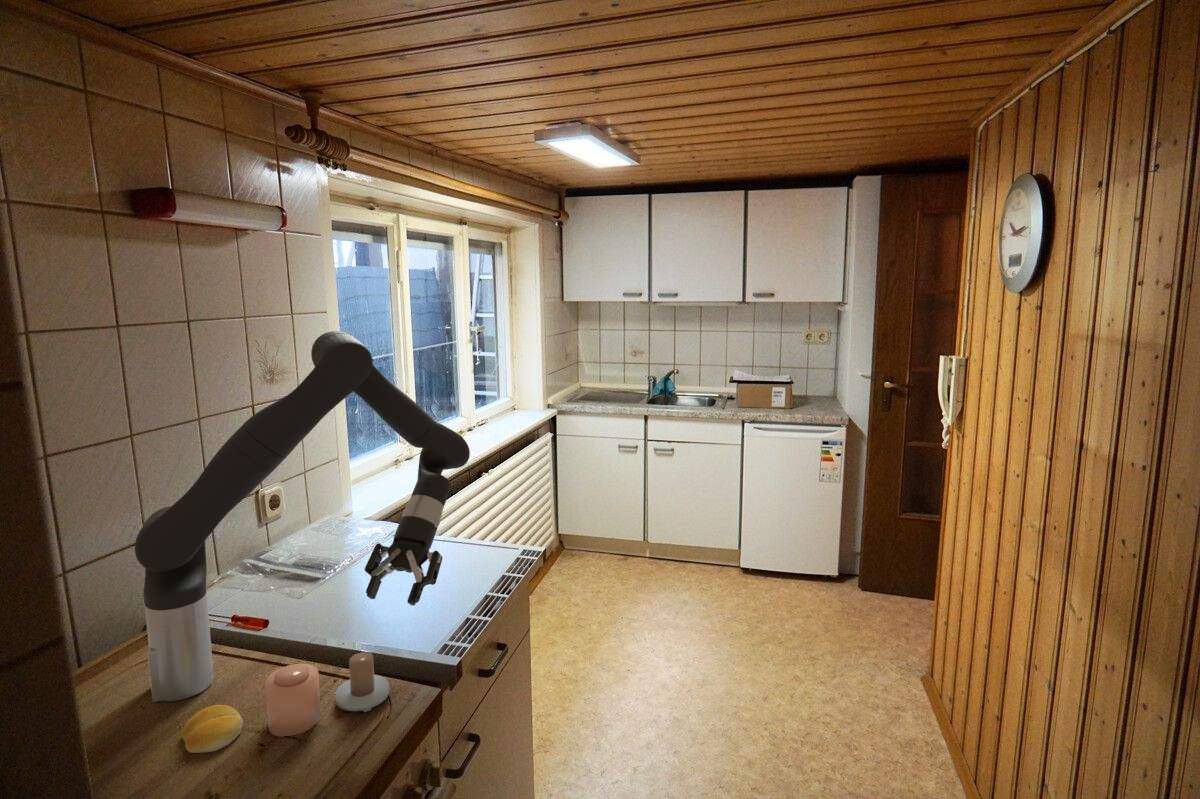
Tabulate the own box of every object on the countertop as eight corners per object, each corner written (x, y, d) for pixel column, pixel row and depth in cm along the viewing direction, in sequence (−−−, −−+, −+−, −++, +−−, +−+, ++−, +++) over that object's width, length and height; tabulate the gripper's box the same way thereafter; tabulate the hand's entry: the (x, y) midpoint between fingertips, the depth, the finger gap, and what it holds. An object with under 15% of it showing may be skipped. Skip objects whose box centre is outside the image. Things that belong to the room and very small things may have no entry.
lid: (340, 722, 107) (338, 679, 106) (331, 693, 115) (329, 653, 113) (395, 705, 112) (393, 664, 110) (382, 679, 119) (381, 639, 118)
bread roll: (189, 763, 97) (187, 740, 97) (180, 732, 104) (178, 710, 103) (249, 740, 103) (247, 718, 102) (237, 712, 109) (235, 691, 109)
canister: (270, 743, 102) (267, 693, 100) (266, 714, 109) (262, 667, 107) (324, 726, 106) (321, 678, 105) (316, 700, 113) (314, 654, 111)
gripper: (380, 510, 128) (348, 589, 119) (445, 518, 124) (417, 599, 115) (395, 526, 134) (365, 602, 125) (458, 534, 130) (431, 612, 121)
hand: (390, 601), depth 120 cm, fingers open, 8 cm apart
